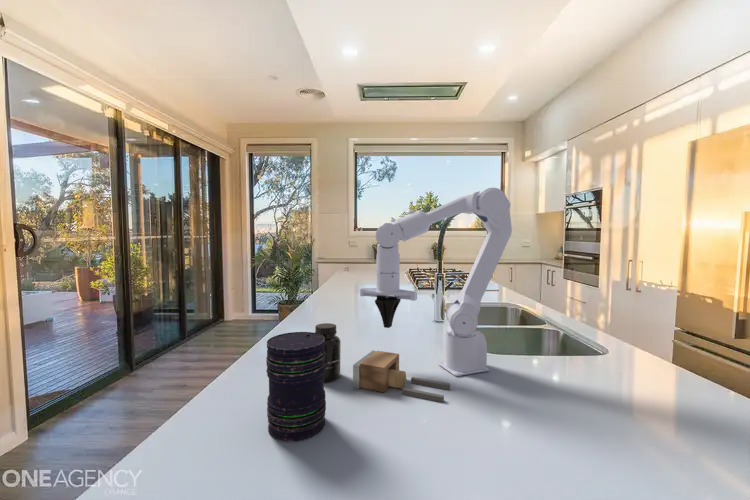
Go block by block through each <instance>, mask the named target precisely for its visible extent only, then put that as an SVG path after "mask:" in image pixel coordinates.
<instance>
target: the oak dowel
mask: <svg viewBox="0 0 750 500" xmlns="http://www.w3.org/2000/svg"><path fill="white" fill-rule="evenodd" d="M406 380H407V373H406V371H404V370H401V369H399V370H394V369H388V387H389V388H390V387H391V388H395V389H401V390H402V389H403V388H405V385H406V383H407V382H406Z"/></svg>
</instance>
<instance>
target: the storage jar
mask: <svg viewBox="0 0 750 500" xmlns="http://www.w3.org/2000/svg"><path fill="white" fill-rule="evenodd" d="M324 344H325V338H324V336H323V335H321V334H318V333H315V332H311V331H293V332H285V333H282V334H278V335H273V336H272V337H270V338H269V339H268V340H267V341H266V348H267V350H266V375H267V378H268V396H267V400H266V401H267V402H266V405H267V406H266V413H267V414H266V417H267V422H268V425H267V429H268V430H267V431H268V434H269V436H270V437H271V438H273V440H275V441H276V440H277V441H279V442H283V443H298V442H303V441H306V440H309V439H312V438H314V437H316V436H318V435H319V434H320V433H321V432H322V431H323V430H324V429H325V427H326V411H327V410H326V409H327V406H326V403H327V401H326V390H325V386H324V385H325V384H324V383H325V382H324V371H325V367H326V365H325V346H324Z"/></svg>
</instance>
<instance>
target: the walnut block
mask: <svg viewBox="0 0 750 500" xmlns="http://www.w3.org/2000/svg"><path fill="white" fill-rule="evenodd" d="M375 351H376V352H375V353H374V354H372V355H371V356H370V357H368V358H367V359H366V360H364V361H363V362H362V363H361V364H360V389H365V390H369V391H376V392H380V393H385V392H386V391H387V390H388V387H389V386H388V369H394V370H400V354H399V353H394V352H389V351H383V350H382V351H381V350H375Z"/></svg>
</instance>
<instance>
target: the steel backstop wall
mask: <svg viewBox="0 0 750 500" xmlns="http://www.w3.org/2000/svg"><path fill="white" fill-rule="evenodd" d="M376 351H377V350H371V351H370V352H368V353H367V354H366V355H364V356H363V357H362V358H360V359H358V360H357V361H356V362H355V363H353V365H352V388H353V389H355V390H360V389H361V388H360V364H361V363H362V362H363V361H364V360H366V359H367V358H368V357H370V356H371V355H372V354H374V353H375V352H376Z"/></svg>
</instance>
